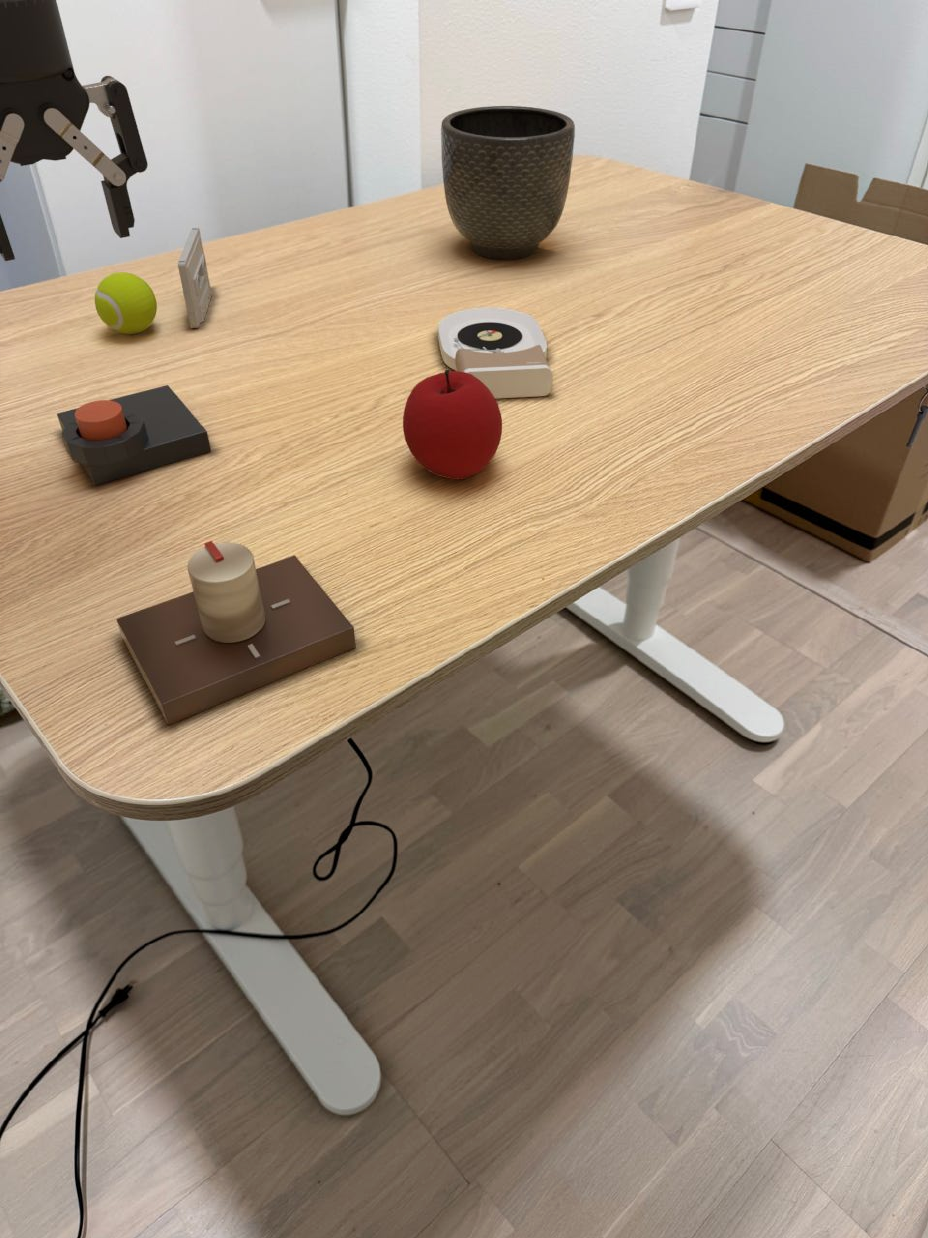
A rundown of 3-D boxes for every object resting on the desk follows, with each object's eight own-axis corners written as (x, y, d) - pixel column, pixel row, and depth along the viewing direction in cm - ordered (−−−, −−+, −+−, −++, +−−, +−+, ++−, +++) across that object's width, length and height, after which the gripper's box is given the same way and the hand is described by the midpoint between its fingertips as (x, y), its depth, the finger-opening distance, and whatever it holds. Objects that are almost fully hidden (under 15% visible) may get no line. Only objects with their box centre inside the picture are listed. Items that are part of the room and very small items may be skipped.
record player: (450, 372, 91) (433, 296, 106) (450, 400, 93) (433, 322, 108) (564, 366, 92) (531, 292, 107) (562, 394, 94) (530, 318, 109)
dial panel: (168, 725, 60) (161, 703, 59) (122, 639, 66) (115, 617, 65) (356, 647, 66) (353, 625, 64) (297, 574, 72) (294, 553, 71)
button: (87, 446, 80) (81, 426, 78) (75, 427, 82) (69, 407, 81) (132, 434, 81) (127, 413, 80) (119, 415, 84) (113, 395, 82)
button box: (87, 494, 81) (74, 455, 78) (53, 436, 88) (40, 398, 85) (215, 455, 85) (207, 417, 83) (172, 404, 93) (164, 367, 90)
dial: (275, 628, 64) (263, 563, 60) (216, 651, 62) (200, 586, 59) (250, 594, 67) (237, 531, 63) (193, 616, 65) (176, 552, 61)
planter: (449, 225, 133) (448, 103, 123) (566, 229, 132) (575, 106, 122) (435, 269, 121) (433, 136, 110) (565, 274, 119) (575, 140, 109)
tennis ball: (90, 335, 105) (74, 277, 101) (133, 315, 109) (119, 259, 105) (132, 348, 103) (117, 289, 98) (174, 327, 107) (162, 270, 102)
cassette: (202, 328, 106) (189, 263, 101) (186, 329, 106) (172, 263, 101) (214, 289, 115) (203, 226, 110) (200, 289, 115) (187, 227, 110)
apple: (521, 475, 83) (526, 374, 76) (434, 504, 79) (432, 400, 73) (470, 431, 89) (470, 333, 82) (387, 456, 85) (381, 356, 79)
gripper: (86, -29, 63) (143, 214, 74) (-140, -11, 57) (-43, 249, 68) (118, -15, 58) (173, 242, 69) (-125, 7, 53) (-24, 282, 64)
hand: (66, 245), depth 69 cm, fingers open, 8 cm apart
